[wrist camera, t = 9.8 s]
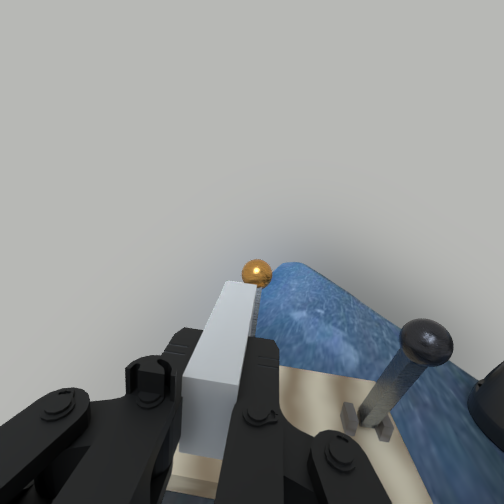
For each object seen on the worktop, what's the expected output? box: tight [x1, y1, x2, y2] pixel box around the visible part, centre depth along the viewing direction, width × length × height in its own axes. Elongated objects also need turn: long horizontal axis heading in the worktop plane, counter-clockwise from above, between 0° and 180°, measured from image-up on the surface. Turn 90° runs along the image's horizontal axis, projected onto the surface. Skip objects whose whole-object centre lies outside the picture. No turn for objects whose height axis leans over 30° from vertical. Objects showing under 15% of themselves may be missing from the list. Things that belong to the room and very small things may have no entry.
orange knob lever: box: [242, 259, 272, 337], centre depth 31 cm, size 4×4×16 cm
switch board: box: [166, 366, 433, 504], centre depth 30 cm, size 23×16×4 cm
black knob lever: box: [357, 319, 453, 429], centre depth 25 cm, size 4×4×16 cm
